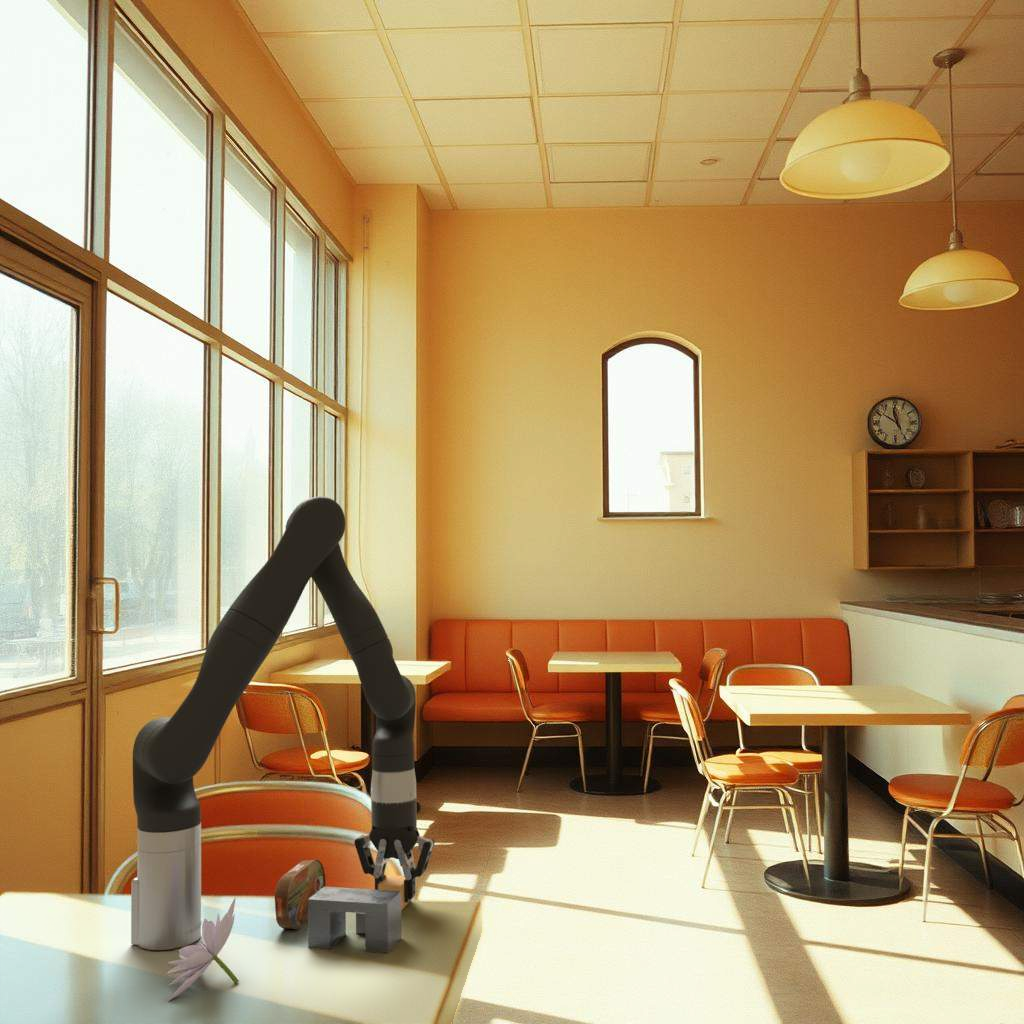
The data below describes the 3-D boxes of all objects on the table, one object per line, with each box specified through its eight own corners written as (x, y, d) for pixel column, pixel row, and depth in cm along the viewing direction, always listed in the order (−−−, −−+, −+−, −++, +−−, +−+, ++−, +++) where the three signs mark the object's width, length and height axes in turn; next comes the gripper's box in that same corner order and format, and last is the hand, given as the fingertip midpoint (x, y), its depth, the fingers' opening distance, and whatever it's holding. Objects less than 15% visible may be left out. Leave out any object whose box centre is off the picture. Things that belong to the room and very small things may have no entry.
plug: (353, 932, 154) (352, 906, 155) (388, 899, 170) (388, 875, 170) (377, 934, 154) (377, 907, 154) (411, 900, 169) (410, 876, 169)
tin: (290, 937, 153) (290, 881, 154) (271, 936, 154) (270, 880, 154) (327, 904, 168) (327, 853, 168) (309, 903, 169) (309, 852, 169)
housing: (308, 947, 149) (307, 899, 149) (324, 932, 155) (324, 886, 155) (388, 953, 146) (387, 904, 146) (401, 938, 152) (401, 891, 152)
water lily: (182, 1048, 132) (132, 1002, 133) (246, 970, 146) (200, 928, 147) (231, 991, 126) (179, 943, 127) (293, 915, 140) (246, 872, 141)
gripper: (441, 792, 170) (442, 895, 169) (362, 789, 173) (363, 890, 172) (427, 802, 163) (428, 910, 162) (345, 799, 166) (346, 905, 165)
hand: (395, 899), depth 167 cm, fingers closed on plug, 4 cm apart
